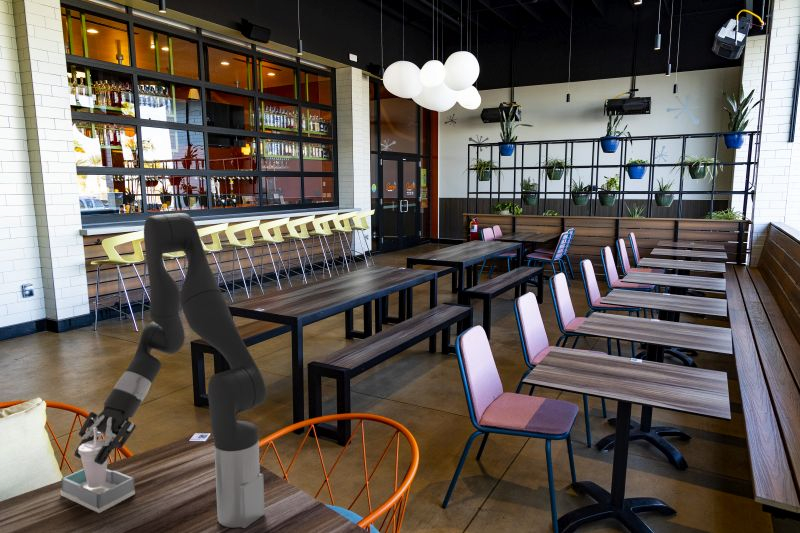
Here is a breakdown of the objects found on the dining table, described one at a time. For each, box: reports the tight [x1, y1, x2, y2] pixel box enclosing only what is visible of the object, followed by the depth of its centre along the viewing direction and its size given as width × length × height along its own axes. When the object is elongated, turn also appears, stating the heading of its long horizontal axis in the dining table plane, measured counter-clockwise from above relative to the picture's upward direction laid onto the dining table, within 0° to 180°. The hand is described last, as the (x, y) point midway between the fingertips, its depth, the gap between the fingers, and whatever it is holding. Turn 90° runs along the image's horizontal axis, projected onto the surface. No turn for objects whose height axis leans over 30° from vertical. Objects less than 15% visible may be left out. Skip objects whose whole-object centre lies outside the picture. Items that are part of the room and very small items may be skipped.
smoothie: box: [77, 427, 108, 488], centre depth 126 cm, size 6×6×14 cm
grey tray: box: [60, 468, 136, 514], centre depth 126 cm, size 15×9×4 cm, turn 61°
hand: (87, 460), depth 124 cm, fingers closed on smoothie, 6 cm apart
